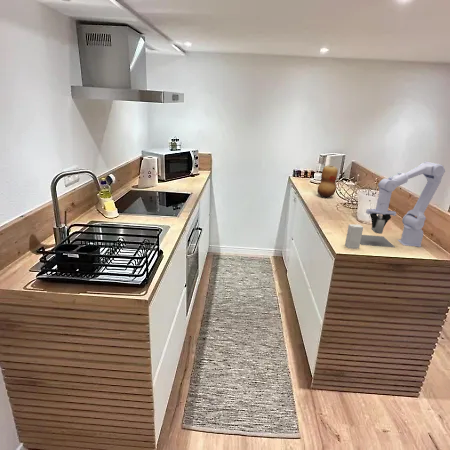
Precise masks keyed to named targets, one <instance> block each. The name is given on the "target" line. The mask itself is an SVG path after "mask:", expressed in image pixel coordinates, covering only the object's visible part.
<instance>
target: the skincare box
mask: <svg viewBox="0 0 450 450" xmlns="http://www.w3.org/2000/svg"><path fill="white" fill-rule="evenodd" d="M347 226H348V227H347V233H346V238H345V242H344V243H345V244H344V246H345V247H346V248H347V249H353V250H356V249H360V247H361V244H360V241H361V237H362V235H363V230H364V226H362V225H361V224H353V223H352V224H348V225H347Z"/></svg>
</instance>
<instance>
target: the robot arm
mask: <svg viewBox="0 0 450 450" xmlns="http://www.w3.org/2000/svg"><path fill="white" fill-rule="evenodd" d="M445 173H446V169H445V167H444V165H443V164H440V163H435V162H431V161H427V160H426V161H424V162H422V163H420V164H419V165H417V166H416V167H413V168H412V169H410V170H408V171H407V172H402V171H401V172H400V171H398V172H397V174H395V175H392V176H389V177H388V178H385V177H384V178H382V179H381V180H380V181H379V182H378V185H377V186H378V197H377V201H376V205H375V206H376V207H375V208H371V209H367V208H366V209H365V213H366V214H367V215H370V219H371V228H372V227H373V228H375V224H376V221H377V218H378V215H381V216H382V218H383V219H385V224H384V227H385V226H386V224H387V223H388V222H389V220H391V218H392V216H394V217H395V216H396V215H397V212H396V211H394V210H389V206H390V202H391V198H392V194H393V192H394V191H395V190H396V188H398V187H400V186H403V185H405V184H407V182H409V180H411V179H413V178H416V177H418V176H421V175H423V176H424V177H425V179H426V181H427V182H426V184H425V186H424V187H423V190H422V191H421V194H420V195H419V197H418V199H417V201H416V203H415V204H414V207H413V208H412V209H409V210H407V213H406V214H404V216H403V217H402V220H401V221H402V224H403V226H402V227H403V229H402V234H401V238H400V239H397V241H398V242H399V243H400V244H401V245H402V246H406V247H407V246H409V247H417V248H421V247H422V243H423V242H422V241H423V237H424V231H423V227H424V226H425V221H426V219H427V218H426V215H425V212H426V210H427V208H428V206H429V205H430V203H431V201H432V199H433V197H434V195H435V193H436V192H437V190H438V188H439V186H440V184H441V181H442V179H443V176H444V175H445Z"/></svg>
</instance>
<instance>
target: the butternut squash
mask: <svg viewBox="0 0 450 450" xmlns="http://www.w3.org/2000/svg"><path fill="white" fill-rule="evenodd" d="M322 168H323V169H322V171H321V174H320V175H321V176H320V182H319V184H318V186H317V194H318V195H319V196H321V197H322V196H323V198H330V197H332V196H333V195H335V193H336V191H337V190H336V189H337V187H336V182H337V179H338V173H339V171H338V170H339V169H338V168H337V166H334V165H328V164H327V165H325V166H324V167H322Z"/></svg>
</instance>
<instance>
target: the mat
mask: <svg viewBox="0 0 450 450" xmlns="http://www.w3.org/2000/svg"><path fill="white" fill-rule="evenodd" d="M360 246H370V247H371V246H372V247H384V248H396V247H395V245H394V244H392V242H390V241H389V240H388V239H387V238H386V237H385V236H382V235H371V234H370V235H368V234H362V237H361V241H360Z"/></svg>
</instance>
